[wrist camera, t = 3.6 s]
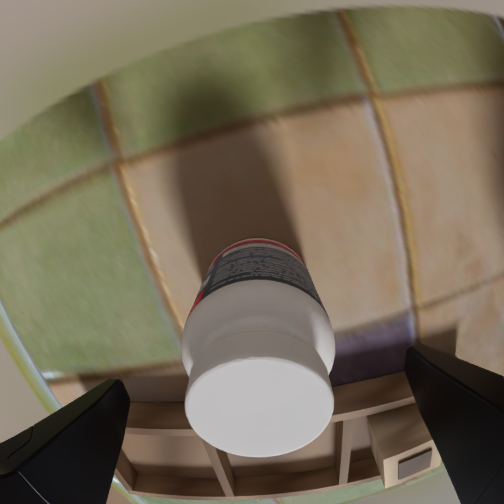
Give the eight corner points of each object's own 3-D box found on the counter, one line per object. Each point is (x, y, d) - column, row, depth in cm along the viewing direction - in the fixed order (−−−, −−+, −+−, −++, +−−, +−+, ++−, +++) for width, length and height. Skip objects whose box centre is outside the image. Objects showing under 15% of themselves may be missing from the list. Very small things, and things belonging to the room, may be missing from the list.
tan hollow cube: (421, 394, 17) (446, 435, 13) (420, 428, 18) (440, 467, 14) (366, 415, 18) (384, 462, 14) (371, 448, 19) (385, 490, 15)
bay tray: (455, 355, 17) (473, 375, 15) (433, 437, 20) (444, 457, 17) (94, 400, 18) (80, 422, 16) (136, 472, 21) (129, 493, 18)
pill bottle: (200, 239, 15) (137, 329, 7) (308, 233, 15) (369, 317, 7) (212, 335, 17) (181, 467, 8) (308, 330, 17) (346, 460, 8)
